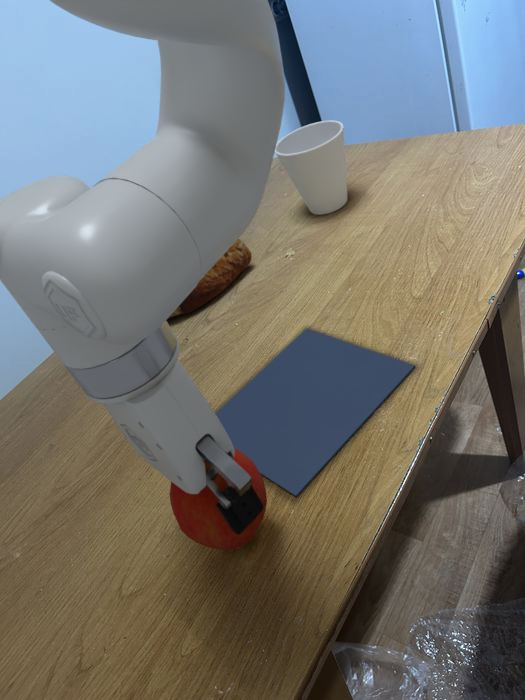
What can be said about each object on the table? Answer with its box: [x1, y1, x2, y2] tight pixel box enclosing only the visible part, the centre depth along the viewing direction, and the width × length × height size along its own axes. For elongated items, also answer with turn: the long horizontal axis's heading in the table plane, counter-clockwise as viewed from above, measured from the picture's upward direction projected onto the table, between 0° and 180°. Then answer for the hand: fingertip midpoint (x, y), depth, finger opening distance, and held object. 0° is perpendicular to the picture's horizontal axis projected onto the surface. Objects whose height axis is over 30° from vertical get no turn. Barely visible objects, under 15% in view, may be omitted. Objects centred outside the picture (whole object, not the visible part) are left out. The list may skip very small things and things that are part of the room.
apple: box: [169, 448, 268, 551], centre depth 52 cm, size 9×8×11 cm
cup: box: [274, 119, 348, 216], centre depth 98 cm, size 12×12×12 cm
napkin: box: [214, 327, 416, 498], centre depth 66 cm, size 17×20×1 cm
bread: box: [168, 238, 253, 319], centre depth 94 cm, size 20×18×10 cm
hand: (217, 495), depth 51 cm, fingers closed on apple, 8 cm apart
